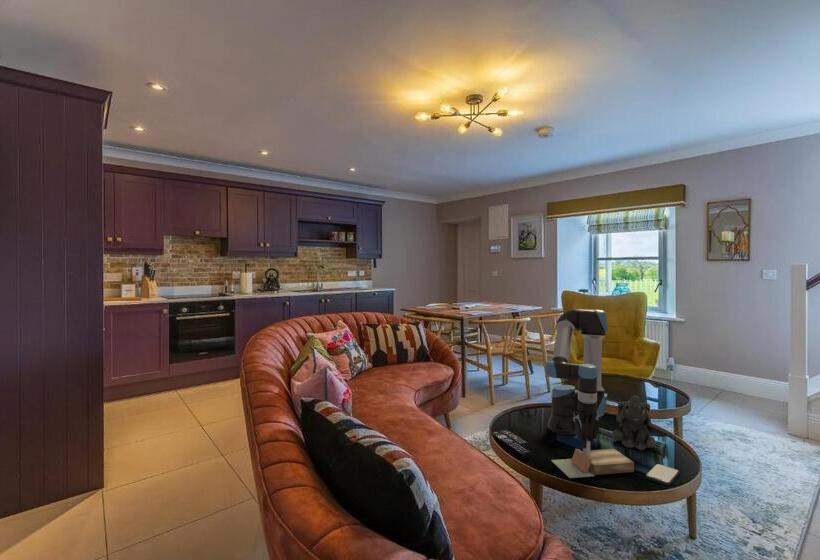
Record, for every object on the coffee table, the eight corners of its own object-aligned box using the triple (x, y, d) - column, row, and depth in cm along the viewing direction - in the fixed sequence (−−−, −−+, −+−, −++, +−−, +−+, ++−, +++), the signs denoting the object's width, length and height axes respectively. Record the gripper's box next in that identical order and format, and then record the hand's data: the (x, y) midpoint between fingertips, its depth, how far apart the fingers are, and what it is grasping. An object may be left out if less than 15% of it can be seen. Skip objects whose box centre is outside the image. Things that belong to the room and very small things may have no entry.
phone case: (656, 466, 174) (644, 478, 163) (656, 463, 174) (644, 474, 163) (680, 474, 168) (669, 487, 157) (680, 470, 168) (669, 483, 157)
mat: (551, 460, 178) (551, 460, 178) (574, 459, 179) (574, 458, 179) (569, 478, 163) (569, 477, 163) (594, 476, 165) (594, 475, 165)
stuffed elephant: (634, 455, 183) (635, 397, 183) (603, 436, 204) (604, 384, 203) (669, 451, 188) (670, 394, 187) (635, 433, 208) (636, 382, 207)
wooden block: (577, 460, 179) (577, 451, 178) (613, 457, 181) (613, 448, 181) (594, 474, 166) (594, 465, 166) (633, 471, 168) (634, 462, 168)
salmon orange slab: (574, 462, 176) (571, 461, 175) (579, 449, 176) (575, 448, 175) (587, 472, 167) (583, 471, 166) (592, 459, 167) (588, 457, 167)
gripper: (578, 404, 167) (577, 460, 167) (606, 403, 169) (605, 458, 169) (568, 398, 174) (567, 452, 175) (595, 397, 176) (595, 450, 177)
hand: (586, 455), depth 172 cm, fingers closed
